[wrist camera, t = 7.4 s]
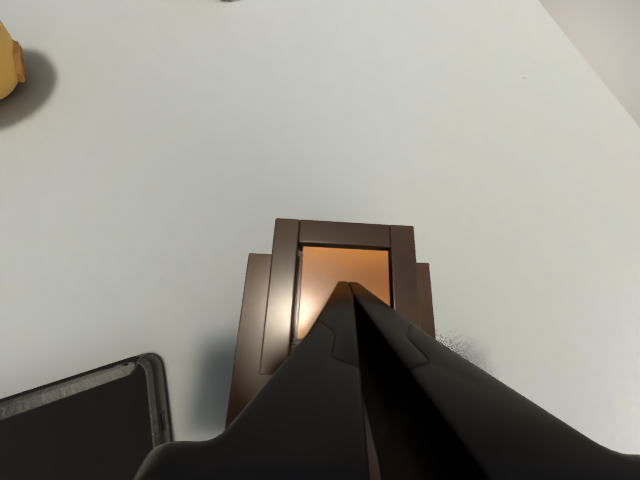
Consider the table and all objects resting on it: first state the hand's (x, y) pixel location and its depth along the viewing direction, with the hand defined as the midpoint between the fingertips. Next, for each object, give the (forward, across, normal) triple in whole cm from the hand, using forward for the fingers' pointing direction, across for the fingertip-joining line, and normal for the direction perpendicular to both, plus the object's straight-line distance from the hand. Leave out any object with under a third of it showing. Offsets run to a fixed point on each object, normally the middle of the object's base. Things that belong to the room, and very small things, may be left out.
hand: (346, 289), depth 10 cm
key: (+2, 0, -2) cm, 2 cm away
